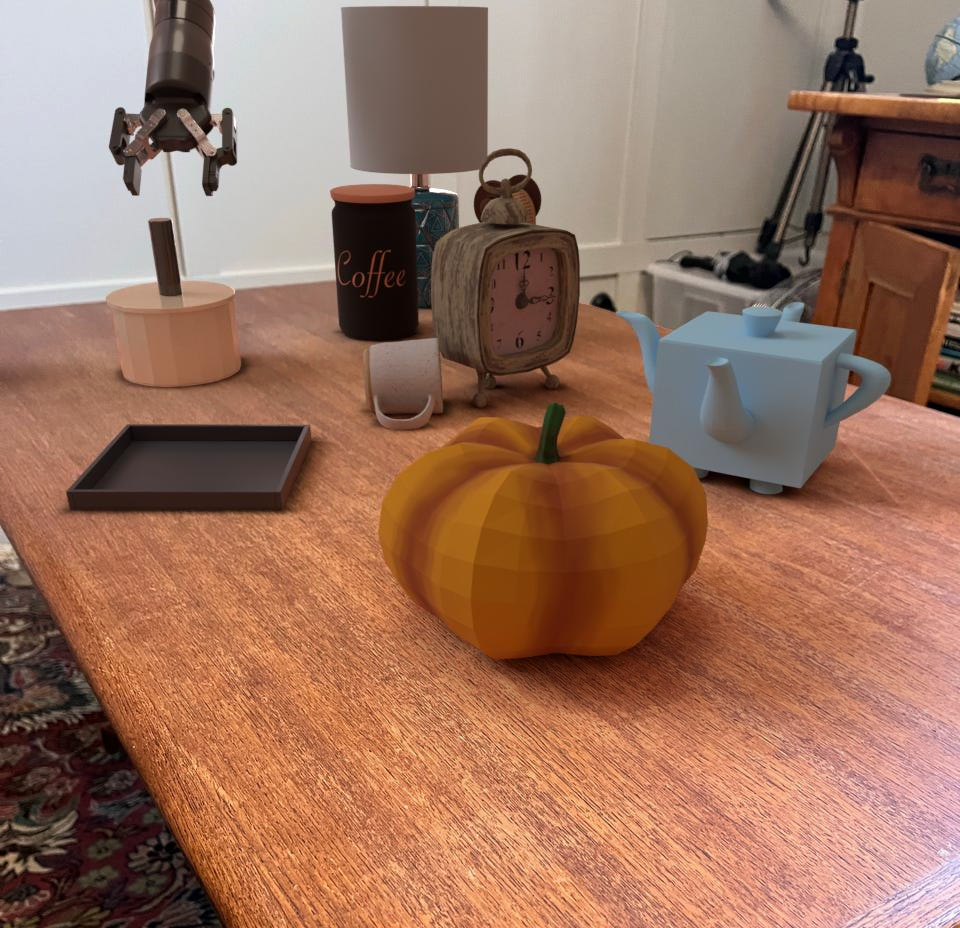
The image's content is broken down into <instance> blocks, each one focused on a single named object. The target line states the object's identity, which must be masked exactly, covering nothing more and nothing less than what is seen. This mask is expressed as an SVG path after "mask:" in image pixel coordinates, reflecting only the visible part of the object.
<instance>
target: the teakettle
mask: <svg viewBox="0 0 960 928" xmlns="http://www.w3.org/2000/svg"><path fill="white" fill-rule="evenodd" d="M804 309H805V303H804V302H801V301H793V302H790V303H788V304H787V305H785V306H784V308H783V309H782V310H780V309H778V308H775V307H771V306H763V305H762V306H761V305H760V306H759V305H757V306H756V305H755V306H749V307H746V308H743V309H742V310H741V311H742V315H741V314H733V313H725V312H719V311H718V312H716V311H711V310H706V311H705V312H703V313H701V314H699V315H698V316H696V317H694V318H693V319H691V320H689V321H688V322H686V323H684V324H683V325H681V326H679V327H677V328H675V329H674V330H672V331H671V332H669V333H668V334H666V335H664V336H662V337H661V336H660V333H659V330H658V328H657V326H656V324H655V322H653V321H652V319H651V318H650V317H648V316H647V315H646V314H642V313H638V312H633V311H626V310H617V311H615V314H616V315H617V316H619V317H620V318H621V319H622V320H624V321H625V322H626V323H628V324H629V325H630V327H631V328H632V329H633V331H634V333H635V334H636V337H637V339H638V343H639V346H640V351H641V358H642V365H643V371H644V378H645V382H646V385H647V389H648V390H649V392H650V394H651V395H652V404H651V405H652V406H651V417H650V426H649V438H648V443H651V444H655V445H659V446H663V447H667V448H669V449H670V450H671V451H673V452H674V453H675V454H677V455H678V456H679V457H680V458H682V459H683V460H684V461H685V462H687V463H688V464H689V465H690V466H692V467H693V469H694V471H695V473H696V475H697V477H698V479H703V478H706V477H707V476H708V474H709V472H715V473H720V474H725V475H731V476H735V477H740V478H746V479H749V488H750V490H752V491H754V492H756V493H758V494H764V495H776V494H779V493H782V492H783V486H786V487H792V488H797V489H801V488H802V487H803V486H804V485H805V484H806V483H807V481H808V480H809V479H810V477H811V476H812V475H813V474H814V473H815V471H816V470H818V468H819V467H820V465H821V464H822V463H823V462H824V461H825V459H826V458H828V456H829V454H830V453H831V452H832V451H833V449H835V448H836V444H837V438H838V434H839V429H840V423H841V422H842V421H845V420H847V419H849V418H851V417H852V416H855V415H856V414H858V413H860V412H863V411H864V410H865V409H867V408H869V407H870V406H872V405H873V404H875V403H876V402H877V401H878V400H879V399H881V397H882V396H883V395H884V394H885V393H886V392H887V390H888V389H889V387H890V385H891V381H892V375H891V372H890V371H889V370H888V368H886V367H885V366H883V364H881V363H879V362H876V361H874V360H871V359H868V358H865V357H862V356H858V355H854V350H855V344H856V339H857V334H858V332H857V330H856V329H853V328H846V327H845V328H844V327H837V326H829V325H821V324H814V323H807V322H806V323H805V322H800V321H801V317H802V314H803V312H804ZM850 371H851V372H854V373H855V374H857V375H859V377H861V383H860V384H859V386H858V387H857V389H856V390H855V391H854V392H853V393H852V394H851V395H850V396H849V397H848V398H846V399H845V396H846V391H847V387H848V381H849V375H850Z"/></svg>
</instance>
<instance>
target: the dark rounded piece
mask: <svg viewBox="0 0 960 928" xmlns="http://www.w3.org/2000/svg"><path fill="white" fill-rule="evenodd" d="M526 177H527V174H520V173H519V174H515V175H513V176H511V177H509V180H510V182H511V186H515V185H517V184H519V183H521V182H522V181H523V180H524V179H525V178H526ZM484 182H485V183H486V184H488V185H489V186H491V187H495V188H501V181H500V180H497V179H489V180H487V181H484ZM496 198H501V195H495V194H492V193H489V192H487V191H486V190H485V189H484V188H483V187H482V186H481V185H480V186H478V187H477V189H476V191H475V193H474V198H473V211H474V215H475V217H476V219H477V221H478V223H481V222H482V221H481V216H482V212H483V210H484V208H485V206H486V205H487V204H488V203H489V202H490V201H491V200H493V199H496ZM510 198H515V199H518V200H520V201H521V202H522V204H523V205H524V206H525V208H526V210H527V212H528V215H529V218H530V221H528V222H524V223H529V224H535V225H537V216H538V215H539V213H540V211H541V206H542V193H541V190H540V187H539V185H538V184H537V182H536V181H535V180H534V178H532V177H531V178H530V180H529V182H528V183H527V185H526V186H525V187H524V188H523V189H521V190H520V191H518V192H516V193H513V194H511V195H510Z"/></svg>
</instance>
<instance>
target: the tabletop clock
mask: <svg viewBox="0 0 960 928" xmlns="http://www.w3.org/2000/svg"><path fill="white" fill-rule="evenodd" d="M510 156H511V157H517V158H519V159H521V160H522V161H523V162H524V163H525V165H526V168H527V174H526V175H527V177H526V178H525V179H524V180H523V181H522V182H521V183H519V184H517V185H515V186H511V182H510V180H509V179H510V178H509V179H508V178H502V179H501V181H500V182H501V188H495V187H491V186H489V185H488V184H486V183H485V182H486V181H485V179H484V172H485V170H486V168H487V167H488V166H487V165H489V164H490V163H491V162H492V161H493V160H495V159H498V158H501V157H510ZM486 166H487V167H486ZM532 174H533V167H532V163H531V159H530V158H529V156H528V155H527V154H526V153H525V152H523V151H522V150H520V149H517V148H510V147H509V148H499V149H497V150H493V151H492V152H490V153H489V154H488V156H487V157H486V158H485V159H484V161H483V162H482V164H481V167H480V170H478V181H479V183H480V186H482V187H483V188H484V189H485V190H486V191H487V192H489V193H492V194H495V195H501V198H496V199H493V200H491V201H490V202H489V203H488V204H487V205H486V206H485V208H484V210H483V212H482V216H481V221H482V222H481V223H480V222H477V223H473V224H468V225H464V226H459V228H456V229H454V230H452V231H450V232H449V233H447V234H446V235H444V236H443V237H442V238H440V239H439V240H438V241H437V242H436V245H435V248H434V252H433V258H432V274H431V304H432V308H431V317H432V328H433V334H434V338H438V340H439V348H440V356H441V357H442V358H443V359H444V360H448V361H450V362H454V363H456V364H459V365H462V366H465V367H469V368H471V369H472V370H473V369H474V370H475V372H476V374H477V393H475V394H473V397H472V404H473V406H474V407H476V408H479V409H481V408H485V407H486V405H487V403H488V398H487V395H486V394H485V393H484V391H485V390H484V389H495V388H496V386H497V384H498V383H497V378H496V377H503V376H511V375H517V374H518V375H519V374H525V373H530V372H533V371H536V370H539V369H540V371H541V372H542V373H543V374H544V376H545V380H544V381H545V386H546V387H547V388H548V389H549V390H551V389H553V390H554V389H555V390H556V389H557V388H559V385H560V378H559V377H558V376H557V375H556V374H551V373H550V371H549V368H548V366H551V365H553V364H556V363H557V362H560V361H561V360H563V359H564V358H565V357H566V356H568V355H569V354H570V353H571V350H572V347H573V344H574V340H575V337H576V331H577V324H578V316H579V308H580V307H579V306H580V296H581V264H580V263H581V261H580V251H579V244H578V241H577V238H576V237H577V236H576V234H574V233H572V232H571V231H569V230H566V229H561V228H555V227H552V226H551V227H550V226H545V225H541V224H536V225H535V224H529V223H524V222H528V221H530V218H529V215H528V212H527V210H526V208H525V206H524V205H523V204H522V202H521V201H520V200H518V199H515V198H510V195H511V194H513V193H516V192H518V191H520V190H521V189H523V188H524V187H525V186H526V185H527V183H528V182H529V180H530V178H532ZM495 376H496V377H495Z"/></svg>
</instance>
